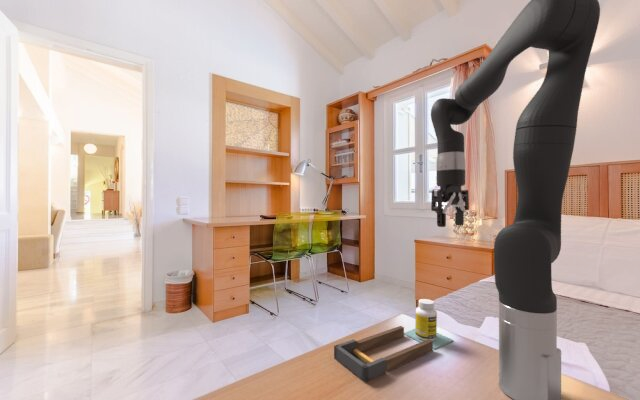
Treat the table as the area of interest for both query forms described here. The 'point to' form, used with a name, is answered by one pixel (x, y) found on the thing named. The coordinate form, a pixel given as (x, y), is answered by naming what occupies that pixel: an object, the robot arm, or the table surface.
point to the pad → (437, 342)
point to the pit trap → (359, 361)
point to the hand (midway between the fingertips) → (450, 225)
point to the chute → (400, 356)
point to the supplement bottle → (426, 320)
